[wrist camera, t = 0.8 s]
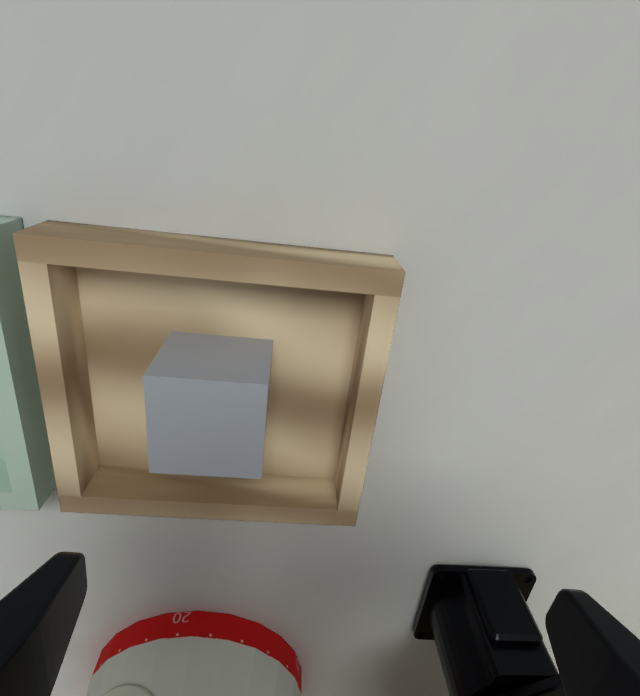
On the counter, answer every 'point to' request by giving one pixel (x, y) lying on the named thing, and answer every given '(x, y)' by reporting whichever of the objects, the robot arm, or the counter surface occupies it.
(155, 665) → the kitchen timer
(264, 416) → the grey cube
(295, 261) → the oak tray
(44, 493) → the green bin
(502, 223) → the counter surface
